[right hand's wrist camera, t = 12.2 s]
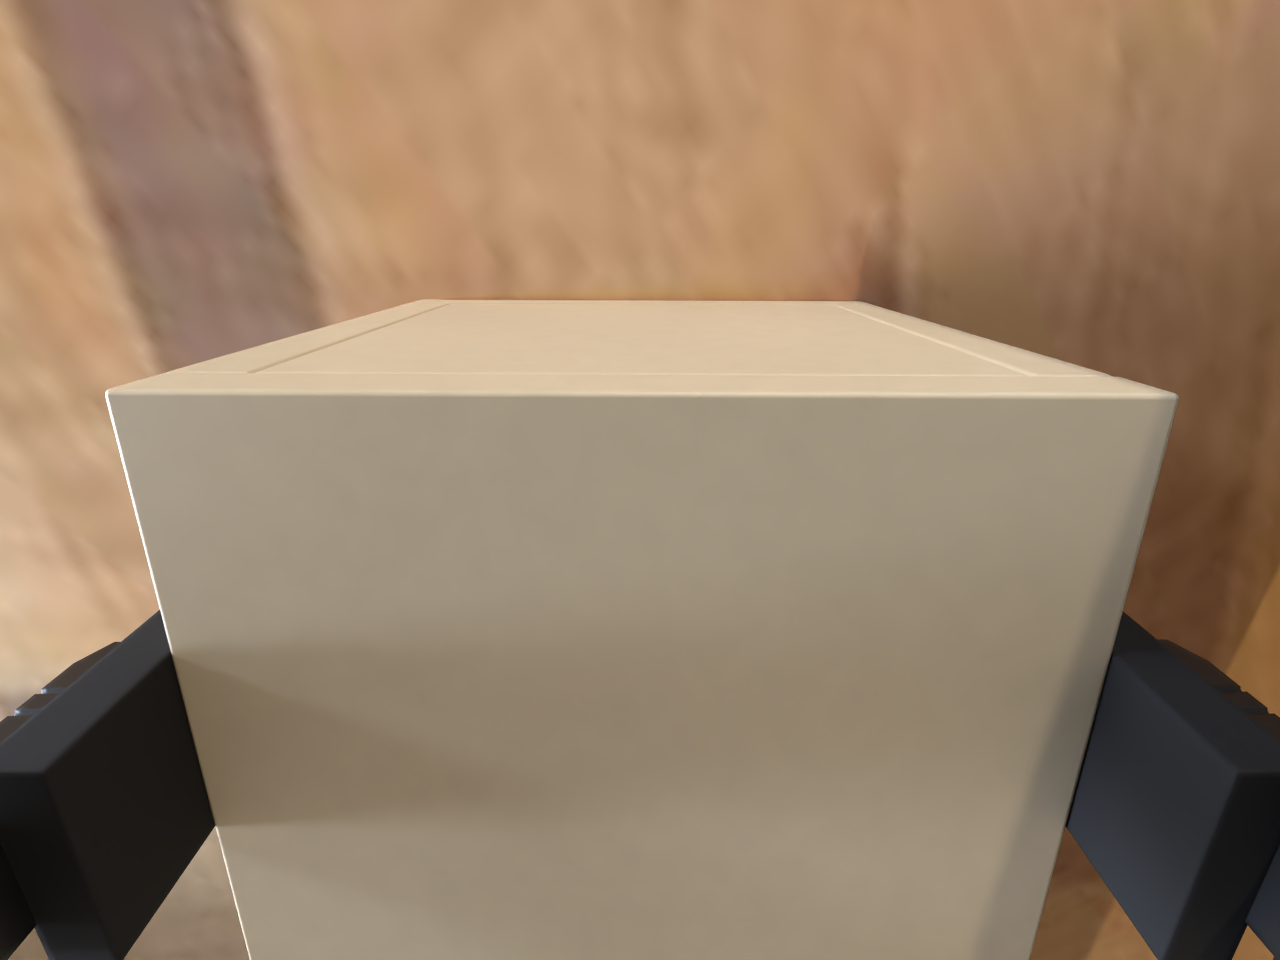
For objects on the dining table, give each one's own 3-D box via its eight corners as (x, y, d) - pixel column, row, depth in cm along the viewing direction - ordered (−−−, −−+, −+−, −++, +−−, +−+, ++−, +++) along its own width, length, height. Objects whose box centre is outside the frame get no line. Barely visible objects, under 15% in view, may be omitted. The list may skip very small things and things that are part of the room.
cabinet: (800, 895, 25) (917, 1387, 14) (478, 894, 25) (356, 1383, 14) (864, 301, 18) (1183, 393, 7) (419, 299, 18) (99, 389, 7)
